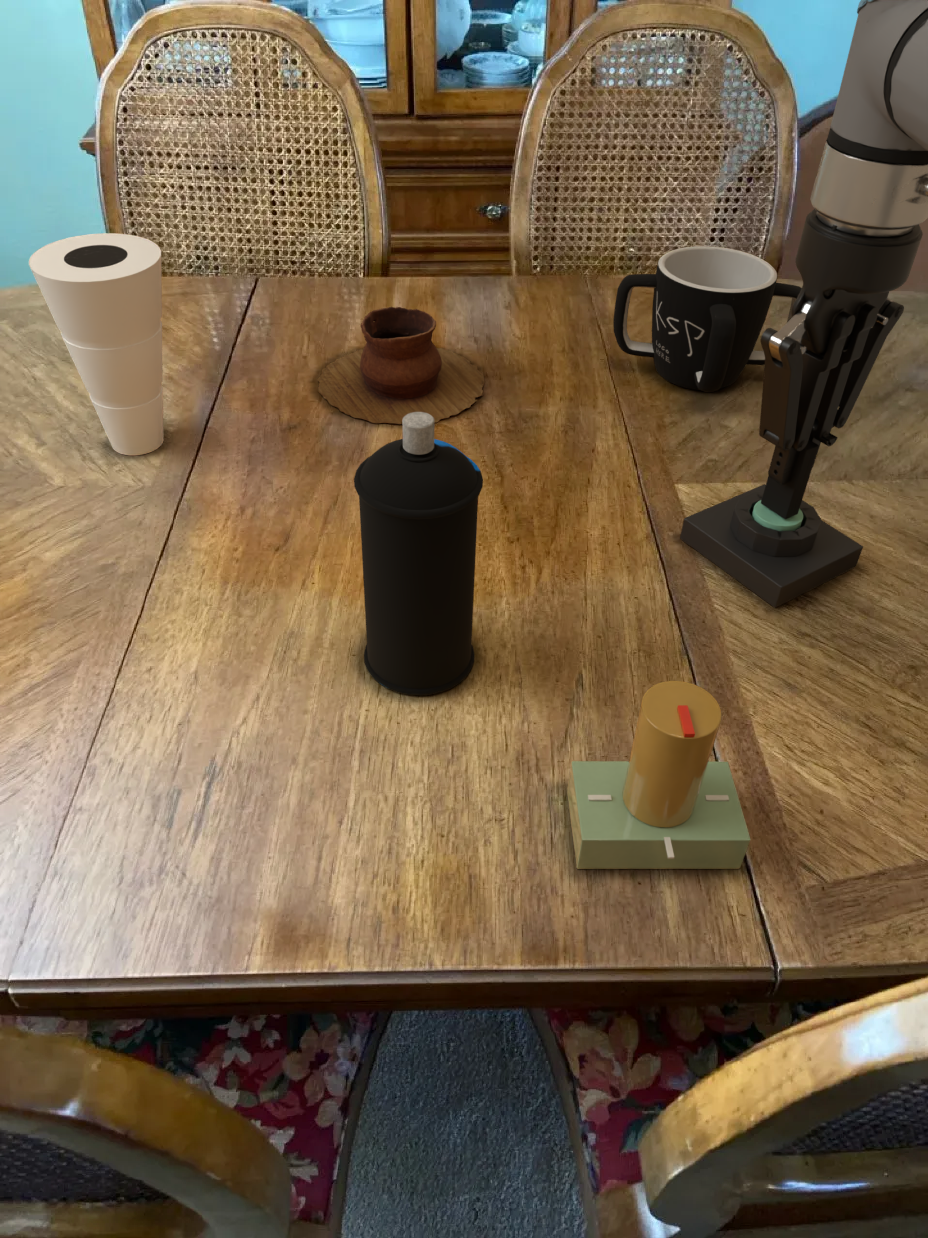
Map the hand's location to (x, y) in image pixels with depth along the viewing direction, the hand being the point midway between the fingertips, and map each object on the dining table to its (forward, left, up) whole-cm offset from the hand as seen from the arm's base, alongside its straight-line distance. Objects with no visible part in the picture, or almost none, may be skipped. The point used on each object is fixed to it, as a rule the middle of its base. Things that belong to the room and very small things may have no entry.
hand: (779, 508), depth 80 cm
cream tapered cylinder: (+45, +39, -5) cm, 60 cm away
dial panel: (-16, +28, -5) cm, 33 cm away
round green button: (0, 0, -2) cm, 2 cm away
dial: (-16, +28, -1) cm, 32 cm away
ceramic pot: (+42, +11, -5) cm, 44 cm away
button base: (0, 0, -5) cm, 5 cm away
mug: (+27, -18, -5) cm, 33 cm away
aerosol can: (+5, +32, -5) cm, 33 cm away
